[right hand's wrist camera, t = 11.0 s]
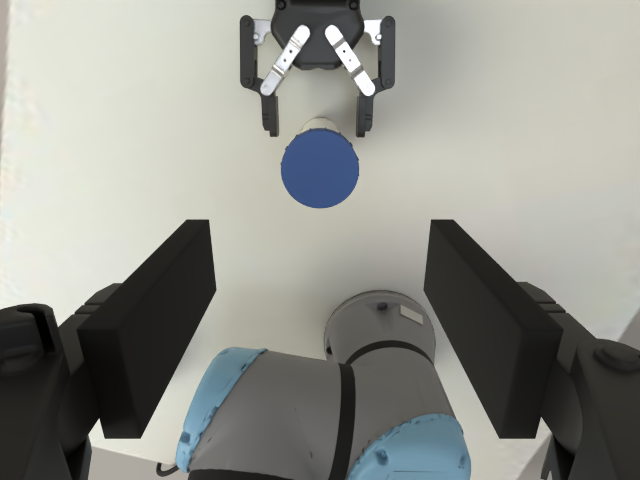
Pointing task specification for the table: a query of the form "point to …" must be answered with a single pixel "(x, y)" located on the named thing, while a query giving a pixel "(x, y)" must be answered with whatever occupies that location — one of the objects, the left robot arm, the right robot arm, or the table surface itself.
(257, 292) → the table surface
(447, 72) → the table surface
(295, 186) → the lid
